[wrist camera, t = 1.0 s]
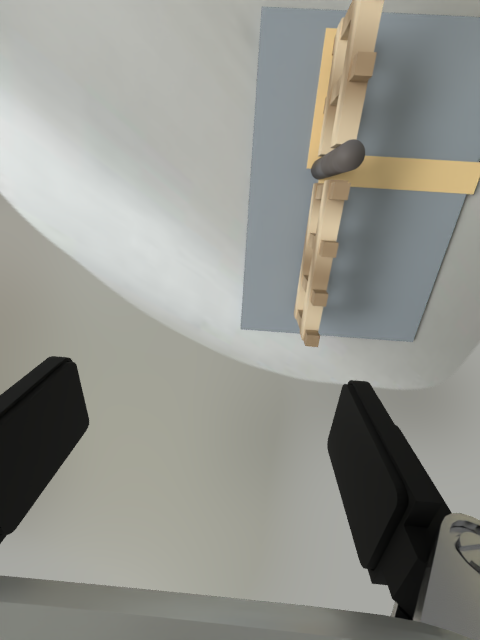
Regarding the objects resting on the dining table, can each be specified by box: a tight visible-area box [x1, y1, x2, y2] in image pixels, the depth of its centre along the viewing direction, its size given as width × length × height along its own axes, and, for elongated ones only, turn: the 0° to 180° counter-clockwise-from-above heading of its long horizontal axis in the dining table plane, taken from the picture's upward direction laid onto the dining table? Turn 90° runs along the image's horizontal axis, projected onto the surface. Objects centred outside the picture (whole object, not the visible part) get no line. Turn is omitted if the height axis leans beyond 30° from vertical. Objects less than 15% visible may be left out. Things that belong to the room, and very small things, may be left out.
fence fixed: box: [311, 0, 384, 180], centre depth 18 cm, size 9×2×9 cm, turn 177°
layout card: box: [241, 7, 480, 342], centre depth 25 cm, size 26×20×1 cm
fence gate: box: [294, 179, 351, 347], centre depth 23 cm, size 12×1×7 cm, turn 177°
